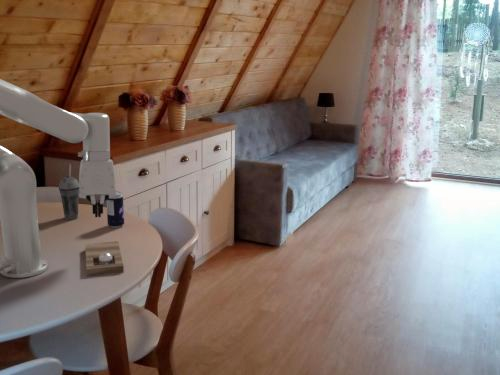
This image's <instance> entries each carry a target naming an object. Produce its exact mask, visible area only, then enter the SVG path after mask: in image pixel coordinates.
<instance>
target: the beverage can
mask: <svg viewBox="0 0 500 375" xmlns="http://www.w3.org/2000/svg"><path fill="white" fill-rule="evenodd" d="M115 192H116V196H115V197H111V198H108V199H107V200H106V201H105V203H106V215H107V216H106V217H107V219H106V220H107V225H108V226H109V227H110V228H112V229H119V228H122V227H123V226H124V224H125V214H124V213H125V210H124V209H125V207H124V206H125V205H124V196H123V194H122V191H116V190H115Z"/></svg>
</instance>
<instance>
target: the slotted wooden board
mask: <svg viewBox="0 0 500 375" xmlns="http://www.w3.org/2000/svg"><path fill="white" fill-rule="evenodd" d="M84 245H85V246H84V248H85V249H84V251H85V263H86V264H85V266H86V267H85V268H86V277H91V276H100V275H101V276H102V275H110V274H118V273H121V274H122V273H124V272H125V271H124V270H125V269H124V262H123V258H122V254H121V248H120V243H119V241H107V242H96V243H95V242H92V243H85V244H84ZM102 253H110V254H111V255H112V257H113V261H112V263H111V264H107V265H101V264H100V263H99V256H100V255H101V254H102Z"/></svg>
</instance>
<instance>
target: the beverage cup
mask: <svg viewBox="0 0 500 375" xmlns="http://www.w3.org/2000/svg"><path fill="white" fill-rule="evenodd" d="M68 166H69V168H68V171H69V172H68V175H69V176H65V177H63V178H62V179H61V180H60V182H59V184H58V190H59V194H60V198H61V203H62V208H63V209H62V210H63V216H64V219H65V220H67V221H72V220H73V221H74V220H77V219H78V218H79V198H80V197H79V191H80V190H79V180H78V179H76V178H75V177H73V176H71V175H72V174H71V172H72V164H71V163H69V165H68Z"/></svg>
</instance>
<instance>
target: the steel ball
mask: <svg viewBox="0 0 500 375" xmlns="http://www.w3.org/2000/svg"><path fill="white" fill-rule="evenodd" d="M112 261H113V257H112V255H111V254H110V253H102V254H101V255H100V256H99V263H100V264H99V265H107V264H113V262H112Z"/></svg>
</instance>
